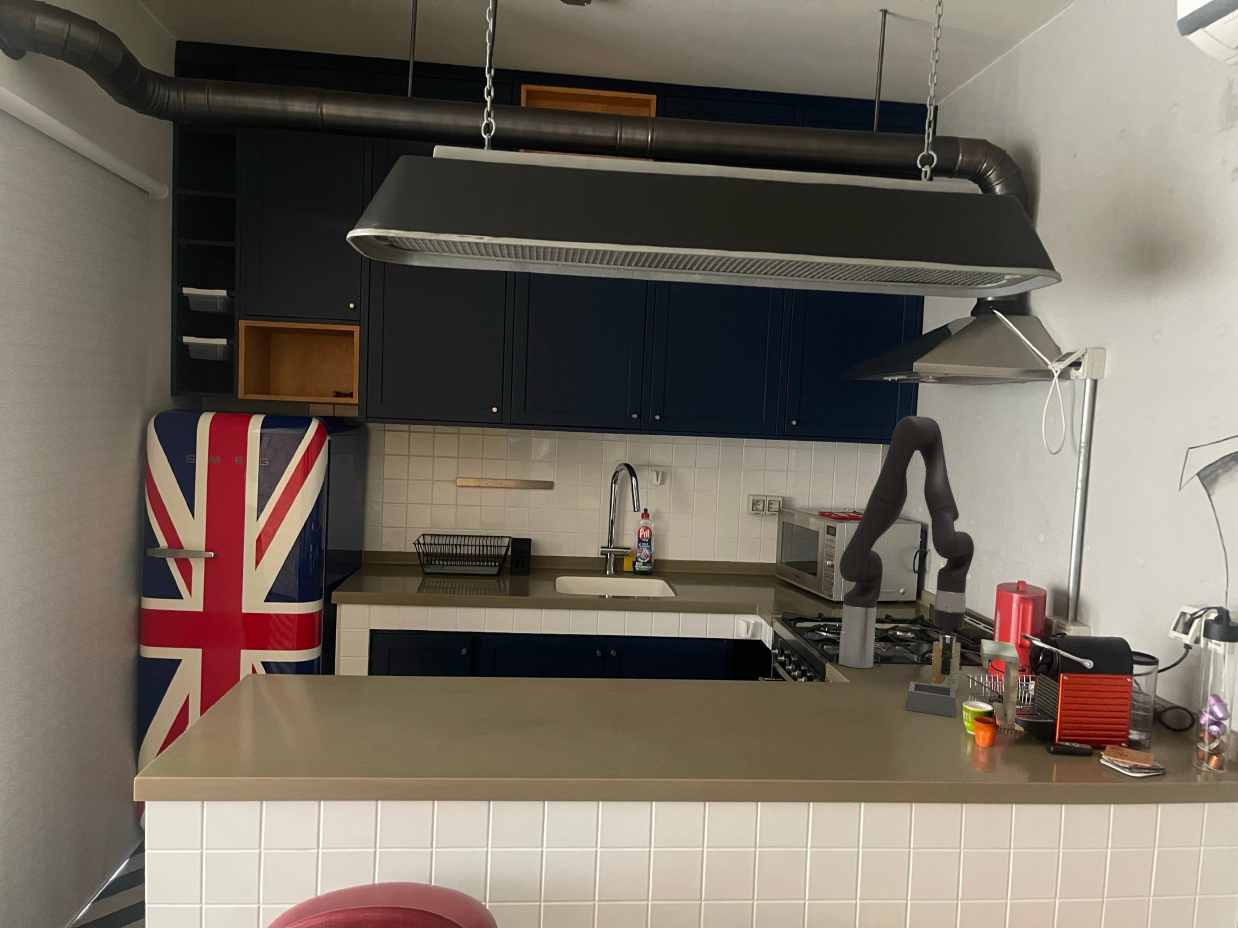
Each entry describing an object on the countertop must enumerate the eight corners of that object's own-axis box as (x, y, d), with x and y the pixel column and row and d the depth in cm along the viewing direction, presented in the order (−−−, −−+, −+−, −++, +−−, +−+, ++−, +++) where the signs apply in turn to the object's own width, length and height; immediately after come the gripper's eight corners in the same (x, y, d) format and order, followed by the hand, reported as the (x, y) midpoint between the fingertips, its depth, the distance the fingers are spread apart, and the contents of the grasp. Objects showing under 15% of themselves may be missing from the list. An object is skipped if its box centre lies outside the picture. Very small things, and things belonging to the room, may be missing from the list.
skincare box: (943, 684, 228) (946, 638, 228) (958, 689, 224) (961, 642, 224) (929, 687, 224) (932, 640, 224) (944, 692, 220) (947, 644, 220)
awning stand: (979, 724, 196) (984, 652, 196) (977, 704, 213) (981, 639, 213) (1025, 731, 192) (1030, 658, 192) (1019, 710, 209) (1023, 644, 209)
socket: (907, 709, 204) (908, 690, 204) (909, 699, 214) (910, 681, 214) (954, 717, 200) (955, 697, 200) (954, 706, 210) (955, 687, 210)
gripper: (934, 602, 232) (930, 663, 232) (933, 610, 218) (929, 675, 218) (964, 605, 229) (960, 667, 229) (965, 614, 216) (961, 679, 216)
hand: (945, 671), depth 224 cm, fingers closed on skincare box, 7 cm apart
